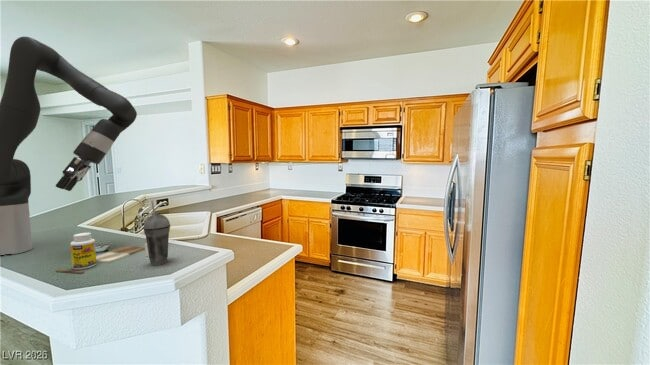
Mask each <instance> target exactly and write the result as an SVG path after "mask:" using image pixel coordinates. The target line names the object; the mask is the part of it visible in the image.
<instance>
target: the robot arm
mask: <svg viewBox="0 0 650 365" xmlns="http://www.w3.org/2000/svg"><path fill="white" fill-rule="evenodd" d="M9 52H10V53H9V57H8V58H9V60H8V68H7V69H8V70H7V76H6V80H5V84H4V88H3V89H4V90H3V92H2V96H1V100H0V255H3V254H12V255H17V254H21V253H25V252H26V253H27V252H28V251H29V252H30V251H31V250H32V249H33V248H34V247H33V238H32V237H33V236H32V227H31V226H32V225H31V224H32V223H31V215H30V205H29V198H30V196H31V193H32V180H31V179H32V178H31V170H30V168H29V166H28V164H27V163H26V162H24V161H23V160H21V159H17V158H15V155H16V151H17V149H18V147H19V146H20V145H21V144H22V143H23V141H24V140H26V139H27V138H28V137H29V136H30V135H31V134H32V133H33V132H34V130H35V129H36V127H37V126H38V125H37V124H38V120H39V118H40V114H41V104H40V100H39V96H38V94H37V90H36V86H35V80H36V79H35V78H36V74H37V71H40V72H44V73H46V74H49V75H51V76H54V77H55V78H57V79H59V80H62V81H63V82H65V83H66V84H67V85H69V86H70V87H71V88H72V89H73V90H74V91H75V92H77V93H78V94H79V95H81V97H83V98H85V99H86V100H88V101H89V102H91V103H92V104H94V105H96V106H98V107H102V108H104V109H106V110H107V111H109V112H110V113H111V114H112V115H111V116H110V117H109V118H108V119H106V118H101V119H99V120H98V122H96V124H95V125H94V126H93V127H92V129H91V130H90V131H89V132H88V133H87V134H86V135H85V136H84V137H83V139H82V140H81V141H80V143H79V144H78V145H77V147H76V148H75V149H74V150H73V153H72V154H74V155H75V156H74V157H73V158H72V159H71V161H70V162H69V163H68V165H66V167H65V168H64V170H62V176H61V178H60V179H59V180H58V182H56V184H55V187H56V188H59V189H60V190H65V191H68V192H71V191H72V190H73V188H74V187H75V186H76V185H77V183H79V182H80V181H82V180H83V178H84V177H85V176H86V175H87V173H88V172H89V170H90V169H91V167H92V166H91V165H90V164H91V163H92V164H95V165H99V164H100V163H101V162H102V161H103V159H104V158H105V156H107V154H108V153H109V151H110V150H111V148H112V146H113V145H114V142H116V140H117V139H118V137H119V136H120V135H121V133H123V132H124V131H125V130H126V129H128V128H129V127H130V126H132V124H133V123H134V122H135V121H136V119H137V117H138V113H137V110H136V109H135V107H134V106H133V105H132V103H131V101H129V100H128V99H127V98H126V97H124V96H123V95H121V94H119V93H118V92H116V91H113V90H110V89H108V88H107V87H106V86H104V85H103V84H101V83H100V82H98V81H96V80H95V79H93V78H91V77H89V76H88V75H86V74H85V73H83V72H82V71H80V70H79V69H78V68H76V67H75V66H74V65H73V64H71V63H70V62H69V61H68V60H67V59H65V58H64V57H63V55H61V54H59V53H58V52H57V51H56V50H55V49H54V48H52V47H50V46H49V45H47V44H44V43H42V42H41V41H39V40H37V39H35V38H33V37H30V36H20V37H18V38H16V39H15V40H14V41H13V43H12V45H11V47H10V51H9Z"/></svg>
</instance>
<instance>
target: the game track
mask: <svg viewBox="0 0 650 365" xmlns="http://www.w3.org/2000/svg"><path fill="white" fill-rule="evenodd" d="M141 251H145V246H137V245H136V246H135V245H134V246H133V245H124V246H120V247H119V248H115V249H113V250H110V251H106V252H104V253H100V254H96V263H107V264H111V263H113V262H115V261H119V260H121V259H123V258H127V257H129V256H130V255H133V254H136V253H139V252H141ZM55 273H64V274H65V273H67V274H78V275H82V274H85V271H84V270H74V269H61V268H58V269H56V270H55Z"/></svg>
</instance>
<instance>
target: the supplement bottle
mask: <svg viewBox="0 0 650 365" xmlns="http://www.w3.org/2000/svg"><path fill="white" fill-rule="evenodd" d="M69 245H70V258H71V260H70V261H71V267H72V268H71V269H72V270H76V271H83V270H86V269H91V268H93V267H94V266H96V265H97V262H96V256H97V253H96V252H97V250H96V249H97V248H96V239H94V238H93V237H92V233H91V232H81V233H76V234H73V241H71V242H70V244H69Z"/></svg>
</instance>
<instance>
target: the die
mask: <svg viewBox="0 0 650 365" xmlns="http://www.w3.org/2000/svg"><path fill="white" fill-rule="evenodd" d="M144 247H145V249H144V254H145V255H144V257H149V253H148V247H147V243H144Z"/></svg>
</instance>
